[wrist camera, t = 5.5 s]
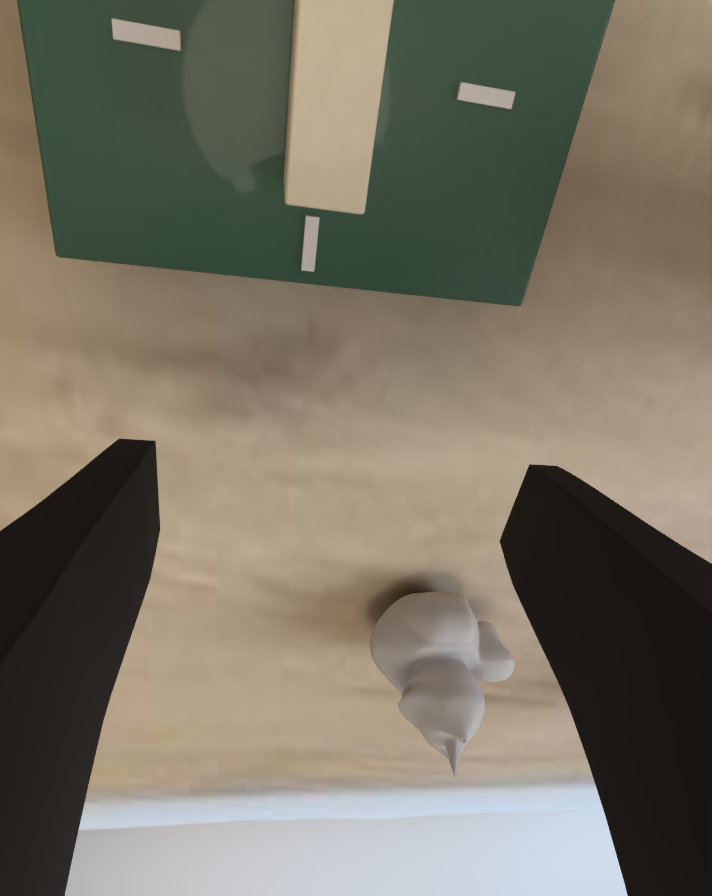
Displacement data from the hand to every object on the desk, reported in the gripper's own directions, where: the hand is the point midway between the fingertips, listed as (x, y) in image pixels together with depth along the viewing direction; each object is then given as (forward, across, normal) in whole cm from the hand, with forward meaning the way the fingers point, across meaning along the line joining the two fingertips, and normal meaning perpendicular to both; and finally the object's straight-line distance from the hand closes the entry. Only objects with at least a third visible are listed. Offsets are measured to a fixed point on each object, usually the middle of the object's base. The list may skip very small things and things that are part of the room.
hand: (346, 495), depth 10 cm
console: (+9, +1, -7) cm, 12 cm away
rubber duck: (+10, -7, +14) cm, 19 cm away
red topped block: (+7, +1, -7) cm, 10 cm away
